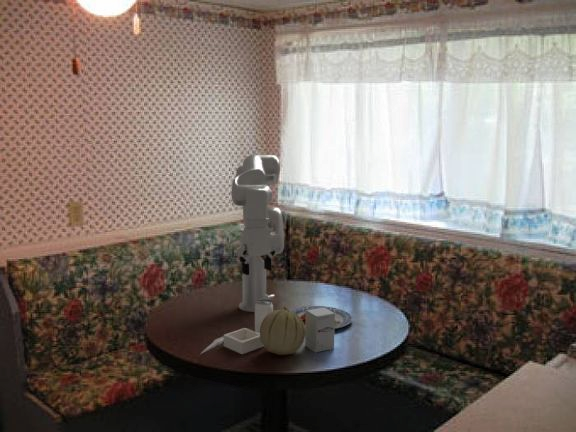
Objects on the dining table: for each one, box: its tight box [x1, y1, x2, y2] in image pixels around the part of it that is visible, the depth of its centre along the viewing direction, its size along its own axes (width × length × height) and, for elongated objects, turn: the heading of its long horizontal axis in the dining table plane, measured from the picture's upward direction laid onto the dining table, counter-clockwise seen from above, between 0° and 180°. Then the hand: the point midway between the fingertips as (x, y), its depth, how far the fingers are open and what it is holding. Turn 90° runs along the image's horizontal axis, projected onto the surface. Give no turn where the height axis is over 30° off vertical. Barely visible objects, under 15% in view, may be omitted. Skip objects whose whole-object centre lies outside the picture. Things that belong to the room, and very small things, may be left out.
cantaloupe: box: [260, 306, 305, 356], centre depth 187 cm, size 15×15×15 cm
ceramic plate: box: [289, 305, 353, 330], centre depth 217 cm, size 26×26×3 cm
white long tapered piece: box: [200, 336, 224, 355], centre depth 194 cm, size 15×3×2 cm, turn 152°
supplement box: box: [304, 308, 335, 354], centre depth 192 cm, size 7×7×13 cm
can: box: [254, 299, 274, 333], centre depth 204 cm, size 6×6×12 cm
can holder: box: [222, 327, 264, 355], centre depth 194 cm, size 10×10×4 cm
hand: (256, 271), depth 201 cm, fingers open, 9 cm apart
